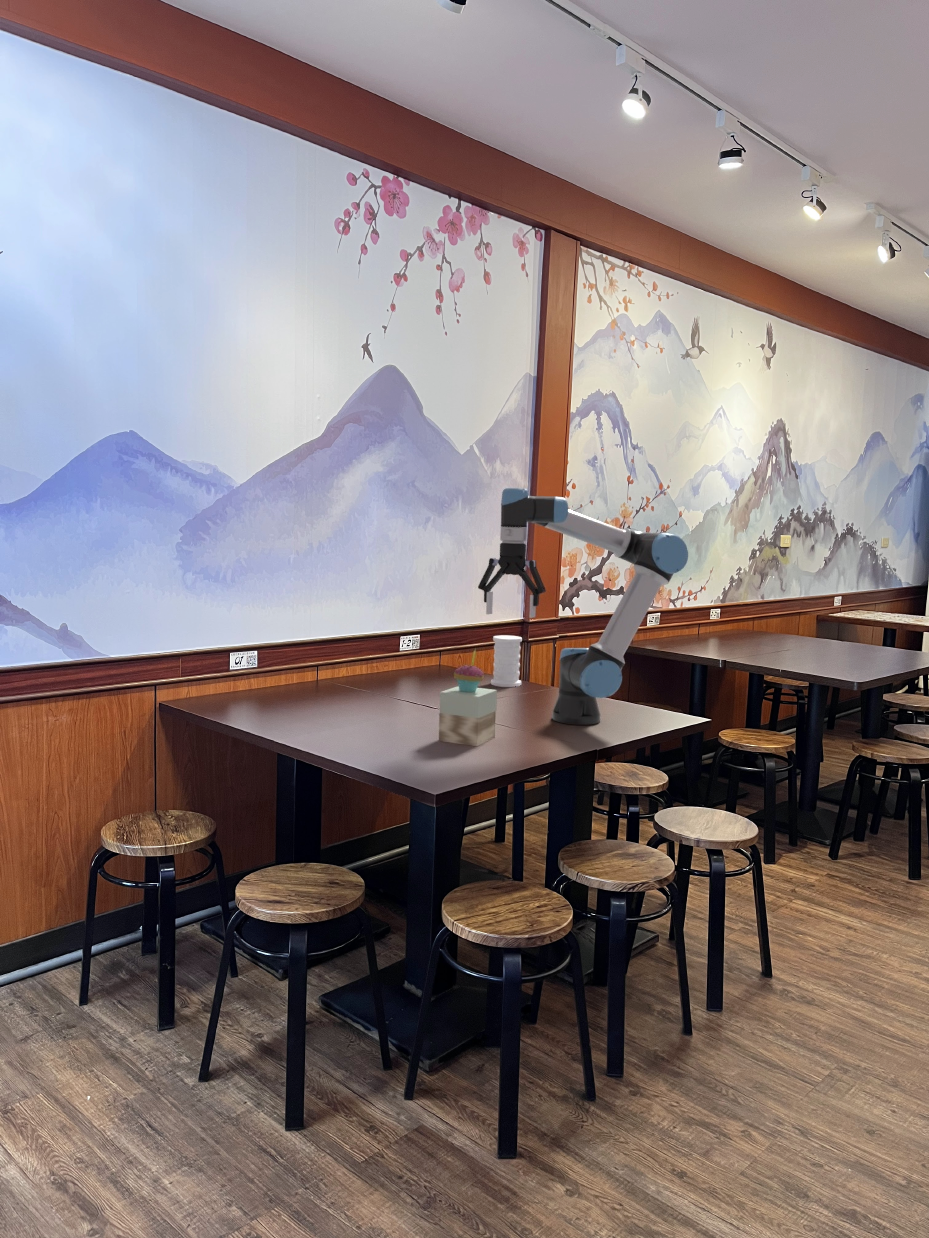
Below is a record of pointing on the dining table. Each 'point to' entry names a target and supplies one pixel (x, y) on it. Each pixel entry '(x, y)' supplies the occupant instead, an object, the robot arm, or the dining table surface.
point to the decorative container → (506, 661)
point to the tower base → (466, 729)
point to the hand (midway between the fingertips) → (510, 615)
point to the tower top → (468, 702)
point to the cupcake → (468, 676)
